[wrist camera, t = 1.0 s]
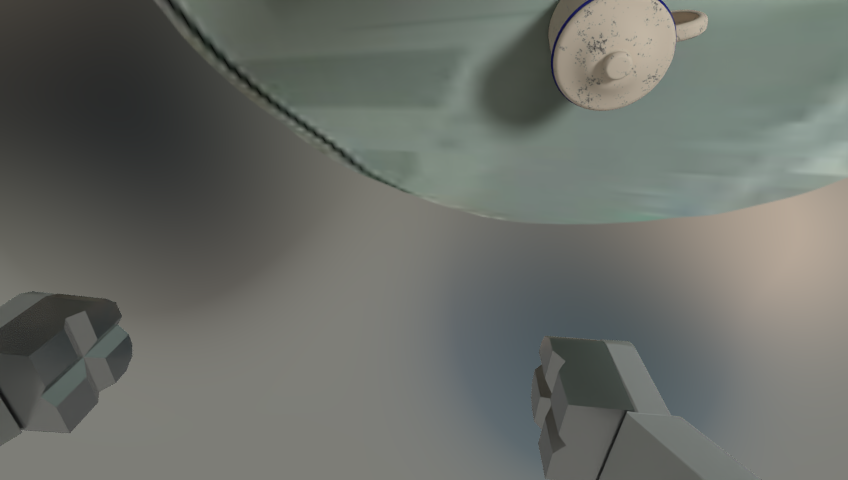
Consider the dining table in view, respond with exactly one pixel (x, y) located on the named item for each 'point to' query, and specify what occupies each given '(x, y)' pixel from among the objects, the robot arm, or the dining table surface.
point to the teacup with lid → (615, 48)
